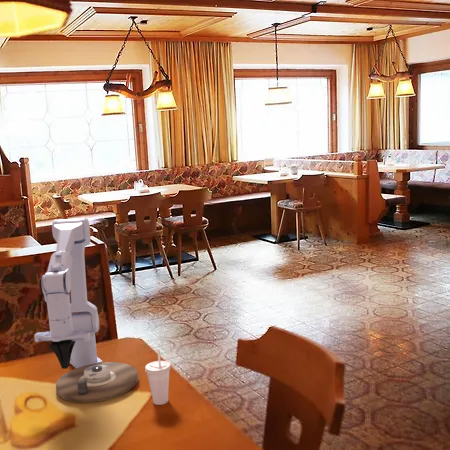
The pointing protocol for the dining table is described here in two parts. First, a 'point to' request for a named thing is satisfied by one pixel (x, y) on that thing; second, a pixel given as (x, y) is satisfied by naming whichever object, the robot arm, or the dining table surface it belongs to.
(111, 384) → the turntable
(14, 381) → the dining table surface
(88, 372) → the cover
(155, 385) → the smoothie
